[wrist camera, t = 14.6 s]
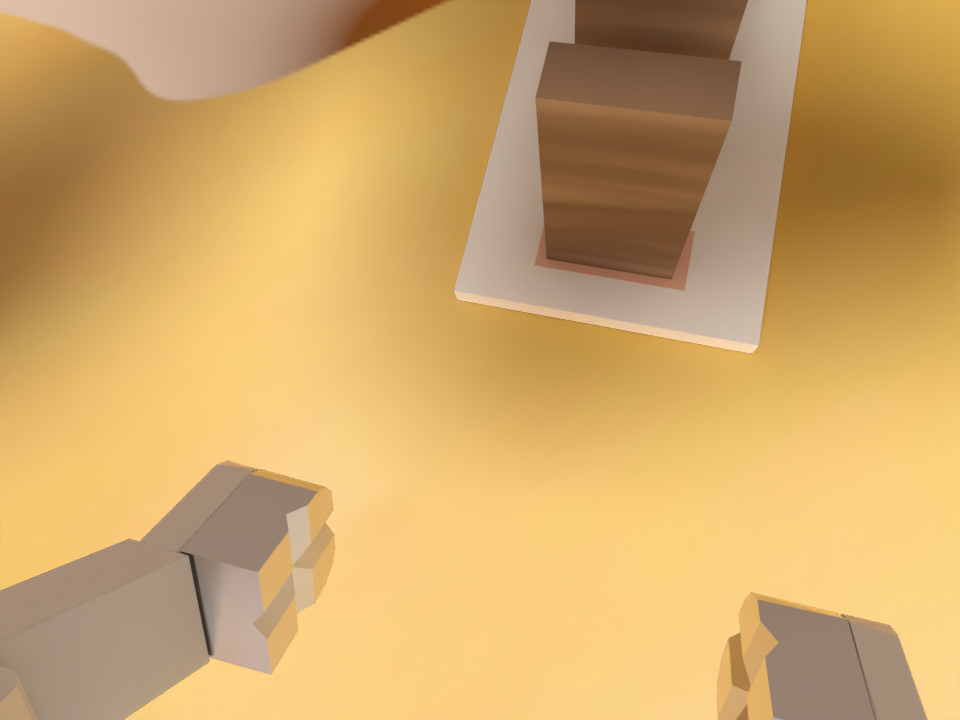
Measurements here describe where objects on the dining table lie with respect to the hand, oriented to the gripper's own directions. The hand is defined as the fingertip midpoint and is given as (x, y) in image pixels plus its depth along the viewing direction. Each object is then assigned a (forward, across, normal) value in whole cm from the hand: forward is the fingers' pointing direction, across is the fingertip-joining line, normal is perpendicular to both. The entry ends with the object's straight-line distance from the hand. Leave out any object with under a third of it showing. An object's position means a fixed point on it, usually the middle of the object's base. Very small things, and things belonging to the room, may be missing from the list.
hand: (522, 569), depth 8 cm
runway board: (+28, 0, +4) cm, 28 cm away
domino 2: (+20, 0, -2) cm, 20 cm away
